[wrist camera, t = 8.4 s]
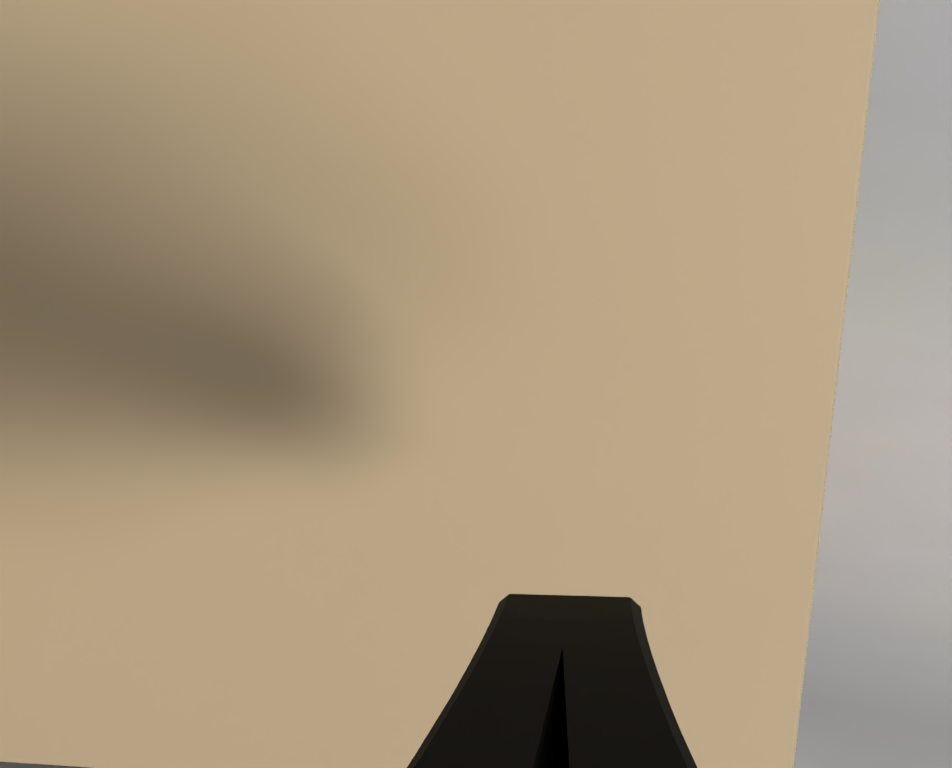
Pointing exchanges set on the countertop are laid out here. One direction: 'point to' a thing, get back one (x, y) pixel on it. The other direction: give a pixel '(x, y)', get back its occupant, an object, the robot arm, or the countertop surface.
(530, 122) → the mailer lid
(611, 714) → the robot arm
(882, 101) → the countertop surface
